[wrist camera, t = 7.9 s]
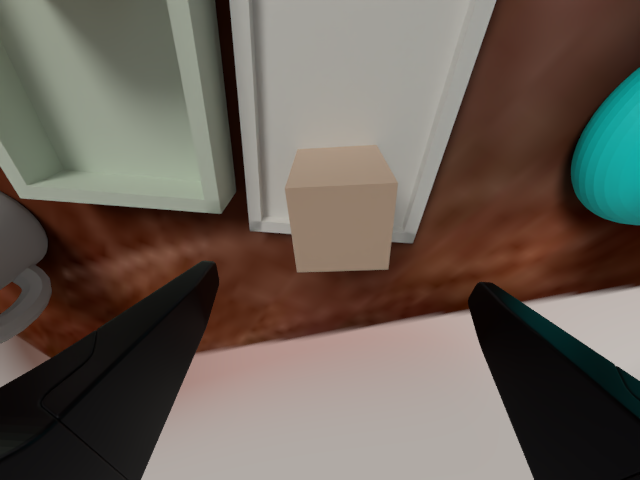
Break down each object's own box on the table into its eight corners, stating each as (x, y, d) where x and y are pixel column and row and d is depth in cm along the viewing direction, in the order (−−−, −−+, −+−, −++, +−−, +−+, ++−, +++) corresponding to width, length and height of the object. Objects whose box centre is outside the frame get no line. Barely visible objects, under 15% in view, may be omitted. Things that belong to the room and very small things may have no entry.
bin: (185, -263, 8) (125, -396, 6) (236, 191, 17) (221, 213, 15) (-177, -307, 8) (-400, -469, 6) (65, 177, 17) (20, 198, 14)
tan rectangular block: (376, 144, 15) (398, 183, 10) (372, 214, 17) (388, 269, 13) (297, 149, 15) (284, 188, 11) (304, 217, 18) (296, 272, 13)
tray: (525, -128, 10) (547, -149, 9) (408, 233, 19) (412, 243, 18) (224, -163, 9) (212, -189, 8) (253, 221, 19) (249, 230, 18)
